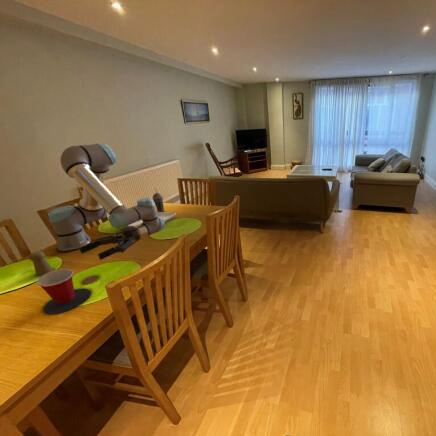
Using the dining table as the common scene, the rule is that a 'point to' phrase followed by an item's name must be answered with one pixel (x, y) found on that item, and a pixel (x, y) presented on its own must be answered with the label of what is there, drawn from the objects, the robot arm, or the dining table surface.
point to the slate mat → (80, 298)
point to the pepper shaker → (40, 263)
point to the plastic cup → (58, 285)
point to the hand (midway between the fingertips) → (89, 253)
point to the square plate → (162, 215)
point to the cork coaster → (90, 279)
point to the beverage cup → (158, 201)
